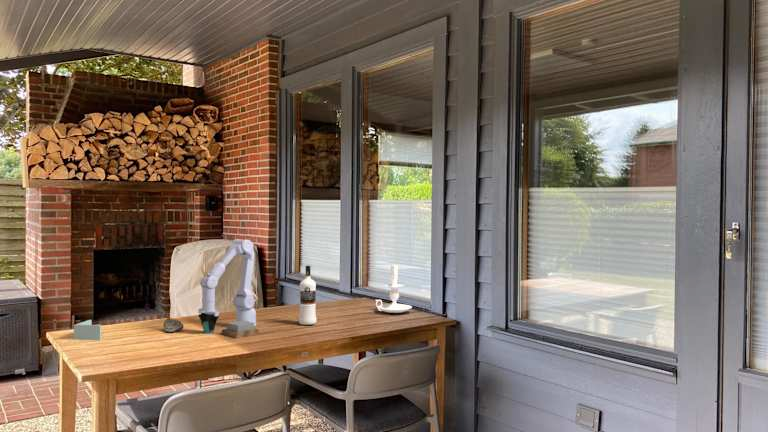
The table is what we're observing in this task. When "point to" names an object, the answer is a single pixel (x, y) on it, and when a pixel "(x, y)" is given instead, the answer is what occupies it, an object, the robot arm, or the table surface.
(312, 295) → the vodka
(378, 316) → the table surface
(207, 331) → the teal cylinder
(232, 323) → the gray top slab
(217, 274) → the robot arm
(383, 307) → the candlestick
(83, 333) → the right angle wall
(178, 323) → the rock sample
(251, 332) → the walnut base slab
